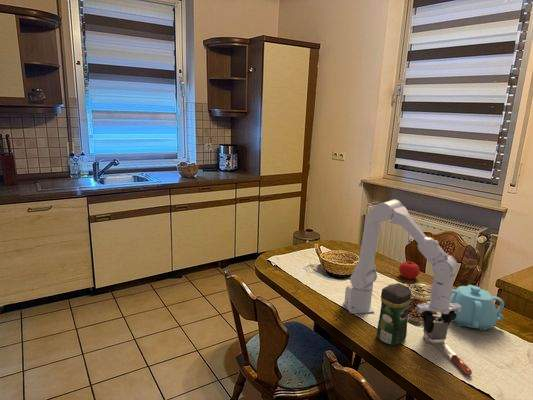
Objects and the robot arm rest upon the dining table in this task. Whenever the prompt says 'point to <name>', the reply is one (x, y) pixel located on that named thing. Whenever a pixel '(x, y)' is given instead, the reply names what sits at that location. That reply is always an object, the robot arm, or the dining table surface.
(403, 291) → the coffee jar
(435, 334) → the socket
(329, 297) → the dining table surface
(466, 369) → the ratchet
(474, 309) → the decorative pot
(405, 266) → the tomato
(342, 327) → the dining table surface
